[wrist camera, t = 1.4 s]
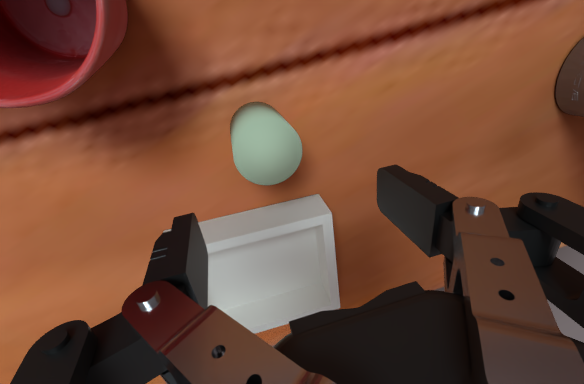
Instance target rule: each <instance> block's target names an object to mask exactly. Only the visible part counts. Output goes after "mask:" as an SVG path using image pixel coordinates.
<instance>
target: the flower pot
mask: <svg viewBox="0 0 584 384" xmlns="http://www.w3.org/2000/svg"><path fill="white" fill-rule="evenodd" d="M127 23H128V12H127V5H126V0H0V108H21V107H30V106H36V105H41V104H46V103H49V102H52V101H55V100H58V99H60V98H63V97H65V96H66V95H68V94H70V93H71V92H73V91H74V90H76V89H77V88H79V87H80V86H81V85H82V84H83V83H85V82H86V81H87V80H88V79H89V78H90V77H91V76H92V75H93V74H94V73H95V72H96V71H97V70H98V69H99V68H100V67H101V66H102V65H103V64H104V63H105V62H106V61H107V60H108V59H109V58H110V57H111V56H112V55H113V53H114V52H115V51H116V50H117V48H118V47H119V46H120V44H121V42H122V41H123V39H124V36H125V33H126V29H127Z"/></svg>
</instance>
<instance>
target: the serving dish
mask: <svg viewBox="0 0 584 384" xmlns="http://www.w3.org/2000/svg"><path fill="white" fill-rule="evenodd" d="M198 224H199V227H200V229H201V232H202V235H203V238H204V241H205V244H206V247H207V252H208V306H210V305H214V306H216V307H217V308H219V309H220V310H222V311H223V312H224V313H226V314H227V315H229V316H230V317H231V318H233V319H234V320H236V321H237V322H238V323H240V324H241V325H243V326H244V327H245V328H247V329H248V330H250V331H251V332H252V333H254V334H255V333H258V332H261V331H265V330H268V329H271V328H275V327H278V326H282V325H285V324H288V323H289V321H292V320H295V319H298V318H301V317H304V316H308V315H311V314H314V313H317V312H320V311H327V310H335V309H339V308H340V299H339V288H338V276H337V265H336V254H335V243H334V232H333V221H332V213H331V211H330V210H329V208H328V207H327V205H326V204H325V202H324V201H323V200H322V198H321V197H320V195H319V194H315V195H311V196H307V197H303V198H299V199H294V200H290V201H286V202H282V203H278V204H273V205H269V206H265V207H261V208H257V209H253V210H248V211H244V212H240V213H236V214H232V215H227V216H223V217H219V218H215V219H211V220H207V221H202V222H198ZM168 231H171V229H169V230H165V231H163V233H164V232H168Z"/></svg>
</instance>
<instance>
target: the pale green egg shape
mask: <svg viewBox="0 0 584 384" xmlns="http://www.w3.org/2000/svg"><path fill="white" fill-rule="evenodd" d="M230 134H231V142H232V150H233V157H234V162H235V165H236V167H237V169H238V171H239V172H240V173H241V174H242V176H244V177H245V178H246V179H247V180H249V181H251V182H253V183H256V184H259V185H274V184H278V183H280V182H283V181H284V180H286V179H288V178H289V177H290V176H291V175H292V174H293V173H294V172H295V171H296V169H297V168H298V166H299V164H300V161H301V158H302V144H301V140H300V138H299V136H298V134H297V132H296V131H295V130H294V129H293V128H292V127H291V126H290V124H289V123H288V122H287V121H286V120H285V119H284V118H283V117H282V116H281V115H280V114H279V113H278V112H277V111H276V110H275V109H274V108H273V107H272V106H270V105H268V104H266V103H263V102H250V103H247V104H245V105H243V106H241V107H240V108H239V109H238V110H237V111H236V112H235V113H234V115H233V117H232V120H231V123H230Z"/></svg>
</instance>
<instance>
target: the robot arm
mask: <svg viewBox="0 0 584 384" xmlns="http://www.w3.org/2000/svg"><path fill="white" fill-rule="evenodd" d="M556 100H557V104H558V106H559V108H560V109H561V110H562V111H563V112H565V113H568V114H571V115H577V116H582V117H584V38H583V39H581V40H580V42H579V43H578V44H577V45H576V46H575V47H574V49H573V50H572V51H571V53H570V54H569V56H568V57H567V59H566V61H565V63H564V65H563V67H562V68H561V71H560V74H559V77H558V80H557V85H556ZM377 204H378V207H379V209H380V211H381V212H382V213H383V214H384V215H385V216H386V217H387V218H388V219H389V220H390V221H391V222H392V223H393V224H395V225H396V226H397V227H398V228H399V229H400V230H401V231H402V232H403V233H404V234H405V235H406V236H407V237H408V238H409V239H410V240H411V241H413V242H414V243H415V244H416V245H417V246H418V247H419V248H420V249H421V250H422V251H423V252H424V253H425V254H426V255H427V256H428V257H433V256H436V255H439V254H443V255H444V262H443V266H444V284H445V292H444V291H434V290H425V291H424V290H423V288H422V287H421V286H420V285H419V284H418V283H417V282H416V281H415V282H412V283H408V284H405V285H402V286H399V287H396V288H393V289H390V290H386V291H385V292H383V293H382V294H380V295H379V296H377V297H375V298H374V299H372V300H371V301H369V302H368V303H366V304H364V305H363V306H361V307H359V308H351V309H339V310H327V311H320V312H317V313H314V314H311V315H308V316H304V317H301V318H298V319H295V320H292V321H289V325H290V329H291V333H290V334H288V335H287V336H285V337H284V338H283V339H282V340H280V341H279V342H278V343H277V344H276V345H275V346H274V347H272V346H271V345H269V344H268V343H266V342H265V341H264V340H262V339H261V338H259V337H258V336H257V335H255V334H254V333H252V332H251V331H250V330H248V329H247V328H245V327H244V326H243V325H241V324H240V323H238V322H237V321H236V320H234V319H233V318H231V317H230V316H229V315H227V314H226V313H224V312H223V311H222V310H220V309H219V308H217V307H216V306H214V305H210V306H208V252H207V247H206V244H205V241H204V238H203V235H202V232H201V229H200V227H199V224H198V221H197V218H196V216H195V214H194V213H190V214H186V215H182V216H178V217H174V220H173V224H172V229H171V231H168V232H164V233H162V235H161V236H160V237H159V238H158V239H157V240H156V242H155V244H154V248H153V253H152V255H151V258H150V259H151V260H150V261H149V265H148V268H147V272H146V275H145V278H144V282H143V285H142V286H141V287H139V288H138V289H136V290H135V291H134V292H133V293H131V294H130V295H129V297H128V298H127V299H126V300H125V302H124V304H123V306H122V312H121V313H119V314H118V315H116V316H114V317H112V318H110V319H108V320H106V321H104V322H103V323H101V324H99V325H97V326H95V327H93V328H90V327H89V326H88V324H87V323H86V322H84V321H81V320H74V321H70V322H66V323H64V324H61V325H59V326H57V327H55V328H54V329H52V330H50V331H49V332H47V333H46V334H45V335H43V336H42V337H41V338H40V339H39V340H37V341H36V342H35V344H34V345H33V346H32V347H31V348H30V349H29V351H28V352H27V354H26V356H25V357H24V359H23V361H22V363H21V365H20V367H19V368H18V370H17V372H16V374H15V376H14V378H13V379H12V381H11V383H10V384H146V383H147V382H149V381H150V380H152V379H154V378H155V377H157V376H158V375H160V376H161V377H162V378H163V379H164V380H165V381H166V383H167V384H584V343H583V342H580V341H578V340H575V339H573V338H570V337H567V336H565V335H563V334H562V333H561V332H560V330H559V328H558V326H557V323H556V321H555V318H554V316H553V313H552V311H551V309H550V306H549V304H548V301H547V299H548V300H549V301H550V302H551V303H553V304H554V305H555V306H556V307H558V308H559V309H560V310H562V311H563V312H564V313H565V314H567V315H568V316H569V317H570V318H572V319H573V320H574V321H575V322H577V323H578V324H579V325H580V326H582V327H583V328H584V275H583V274H582V273H580V272H579V271H577V270H575V269H574V268H572V267H571V266H569V265H567V264H566V263H564V262H563V261H561V260H560V259H558V258H557V257H555V256H556V254H557V251H558V249H559V246H560V244H561V242H563V243H564V244H566V245H568V246H569V247H571V248H573V249H574V250H576V251H578V252H580V253H581V254H583V255H584V207H582V206H580V205H578V204H576V203H573V202H571V201H569V200H567V199H564V198H562V197H559V196H556V195H552V194H547V193H527V194H524V195H522V196H521V198H520V201H519V204H518V207H509V208H499V207H498V206H497V205H496V204H495V203H493V202H491V201H489V200H486V199H483V198H478V197H462V198H458V197H456V196H455V195H453V194H451V193H450V192H448V191H446V190H445V189H443V188H441V187H440V186H437V185H436V184H434V183H433V182H430V181H429V180H428V179H426V178H424V177H423V176H421V175H417V174H414V173H411V172H408V171H406V170H405V169H403V168H401V167H400V166H398V165H391V166H387V167H383V168H380V169H378V172H377Z"/></svg>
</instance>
